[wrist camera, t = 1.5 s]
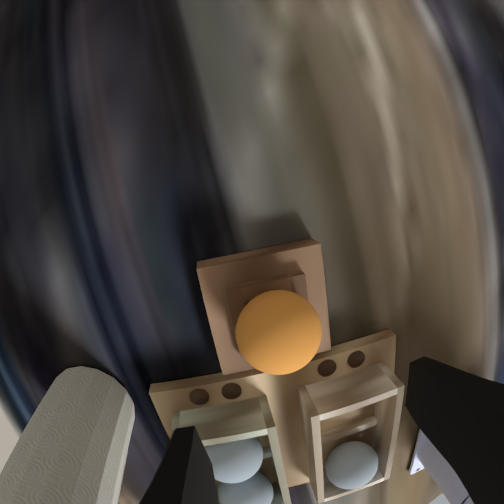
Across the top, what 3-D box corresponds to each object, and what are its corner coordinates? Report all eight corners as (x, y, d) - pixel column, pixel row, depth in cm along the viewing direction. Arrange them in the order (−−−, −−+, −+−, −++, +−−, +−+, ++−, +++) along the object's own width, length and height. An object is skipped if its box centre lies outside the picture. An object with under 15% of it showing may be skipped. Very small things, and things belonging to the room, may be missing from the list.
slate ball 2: (264, 454, 20) (274, 495, 16) (271, 481, 21) (281, 519, 17) (210, 463, 20) (213, 505, 16) (222, 490, 21) (227, 528, 17)
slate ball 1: (252, 407, 19) (262, 451, 15) (262, 445, 20) (272, 487, 16) (190, 418, 18) (190, 462, 15) (206, 455, 19) (209, 498, 16)
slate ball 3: (367, 424, 21) (389, 458, 17) (365, 454, 22) (383, 486, 18) (317, 440, 20) (334, 478, 17) (319, 469, 21) (334, 504, 17)
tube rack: (388, 328, 20) (420, 356, 16) (380, 449, 23) (398, 478, 19) (150, 383, 19) (142, 425, 15) (203, 493, 22) (205, 528, 18)
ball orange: (302, 271, 16) (330, 299, 13) (310, 339, 17) (336, 378, 14) (225, 288, 16) (231, 322, 12) (240, 355, 17) (249, 400, 13)
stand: (311, 238, 18) (324, 245, 16) (322, 338, 19) (334, 354, 17) (197, 261, 17) (195, 272, 15) (221, 361, 19) (223, 381, 17)
